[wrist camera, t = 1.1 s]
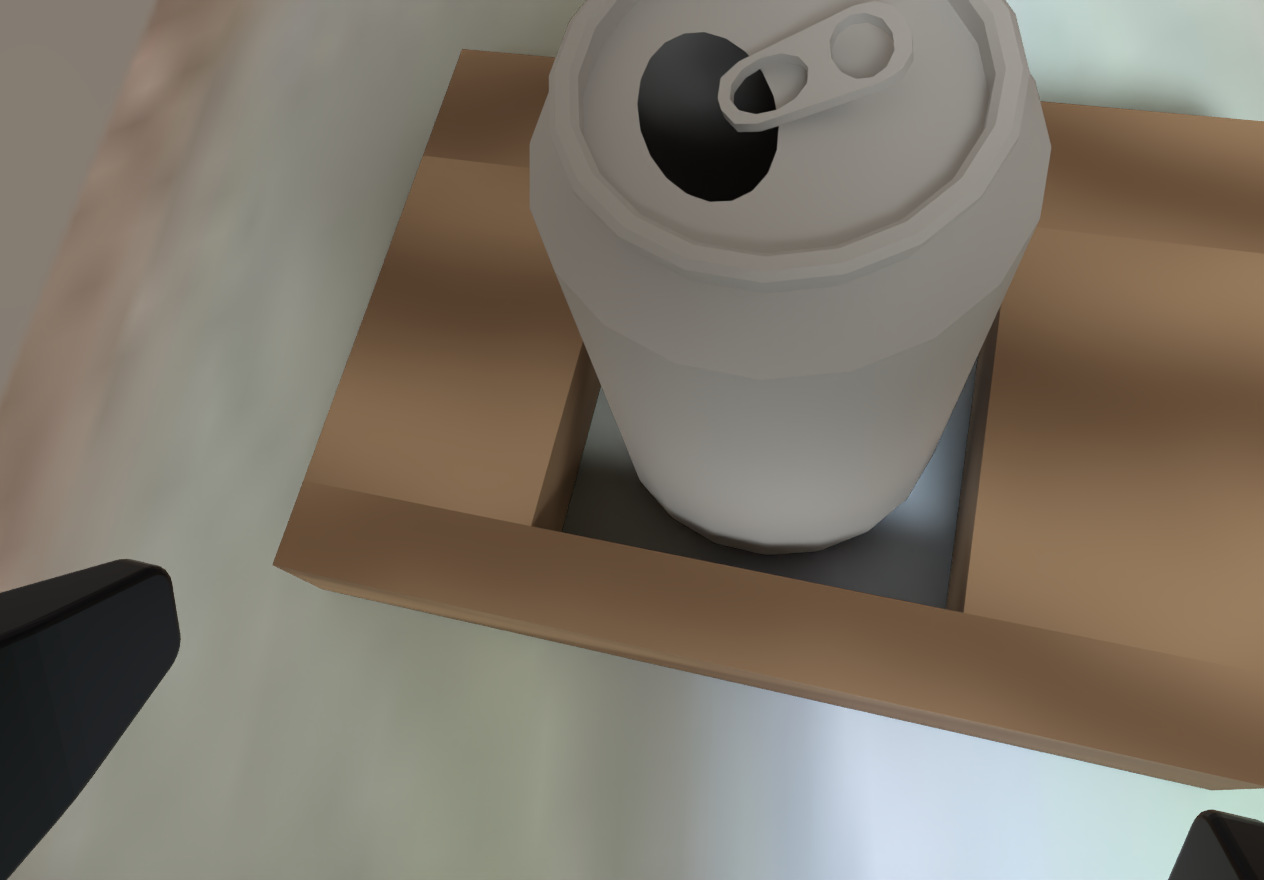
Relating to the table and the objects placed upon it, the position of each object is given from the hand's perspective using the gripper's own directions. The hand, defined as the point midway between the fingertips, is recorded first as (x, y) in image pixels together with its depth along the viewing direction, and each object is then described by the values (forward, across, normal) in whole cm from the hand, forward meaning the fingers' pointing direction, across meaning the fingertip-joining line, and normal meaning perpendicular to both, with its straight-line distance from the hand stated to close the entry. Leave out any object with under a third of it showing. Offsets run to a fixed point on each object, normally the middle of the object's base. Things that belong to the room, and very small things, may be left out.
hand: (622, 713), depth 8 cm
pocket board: (+15, 0, +4) cm, 16 cm away
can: (+16, 0, +4) cm, 16 cm away
